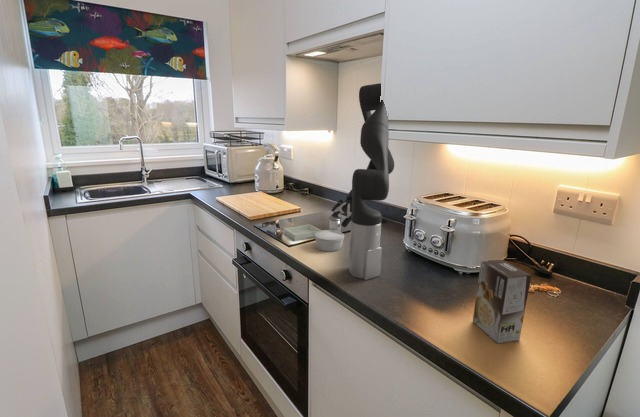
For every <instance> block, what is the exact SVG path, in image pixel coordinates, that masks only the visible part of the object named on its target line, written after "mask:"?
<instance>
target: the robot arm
mask: <svg viewBox="0 0 640 417" xmlns="http://www.w3.org/2000/svg"><path fill="white" fill-rule="evenodd" d="M381 83H382V82H381ZM381 83H379V82H378V83H372V84H368V85H367V84H366V85H363V86H360V88H359V91H358V100H359V105H360V106H359V107H360V110H361V113H362V117H363V120H364V122H363V124H362V126H361V129H360V138H359V140H360V142H359V143H360V146H361V149H362V151H363V152H364V153H365V155H366V156H367V157H368V158H369V162H368V165H367V167H366V168H365V169H364V168H357V169H355V170H354V171H353V173H352V177H351V178H352V180H351V189H350V191H349V192H348V193H347V195H346V200H344V201H343V200H342V199H341V198H340V199H339V200H338V201H337V203H336V204H335V205H334V206H333V207H332V209H331V210H332V211H333V213H332V214H331V216H338V217H339V215H341V214H344V213H345V214H347V215H346V217H345V219H344V220H343V221H341V227H342V228H346V227H348V225H349V224H350V243H349V266H348V267H349V268H348V271H349V272H348V273H349V274H350V276H353V277H354V278H357V279H362V280H364V281H367V280H370V279H371V280H372V279H373V278H377V277H380V276H381V271H382V270H381V269H382V268H381V267H382V253H383V252H382V251H383V247H381V232H382V222H383V221H382V220H383V215H382V213H381V211H379V210H377V209H374V208H372V207H370V206H368V205H366V203H365V202H366V201H375V202H376V201H384V200H386V199H387V198H388V195H389V192H390V191H389V190H390V177H389V176H390V174H392V173H393V171H394V169H395V160H394V158H393V155H392V153H391V150H390V148H389V135H390V134H389V132H390V131H389V115H388V116H387V111H386V107H385V104H384V102H383V100H381V102H380V96H381ZM372 112H373V113H372ZM350 222H351V223H350Z"/></svg>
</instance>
